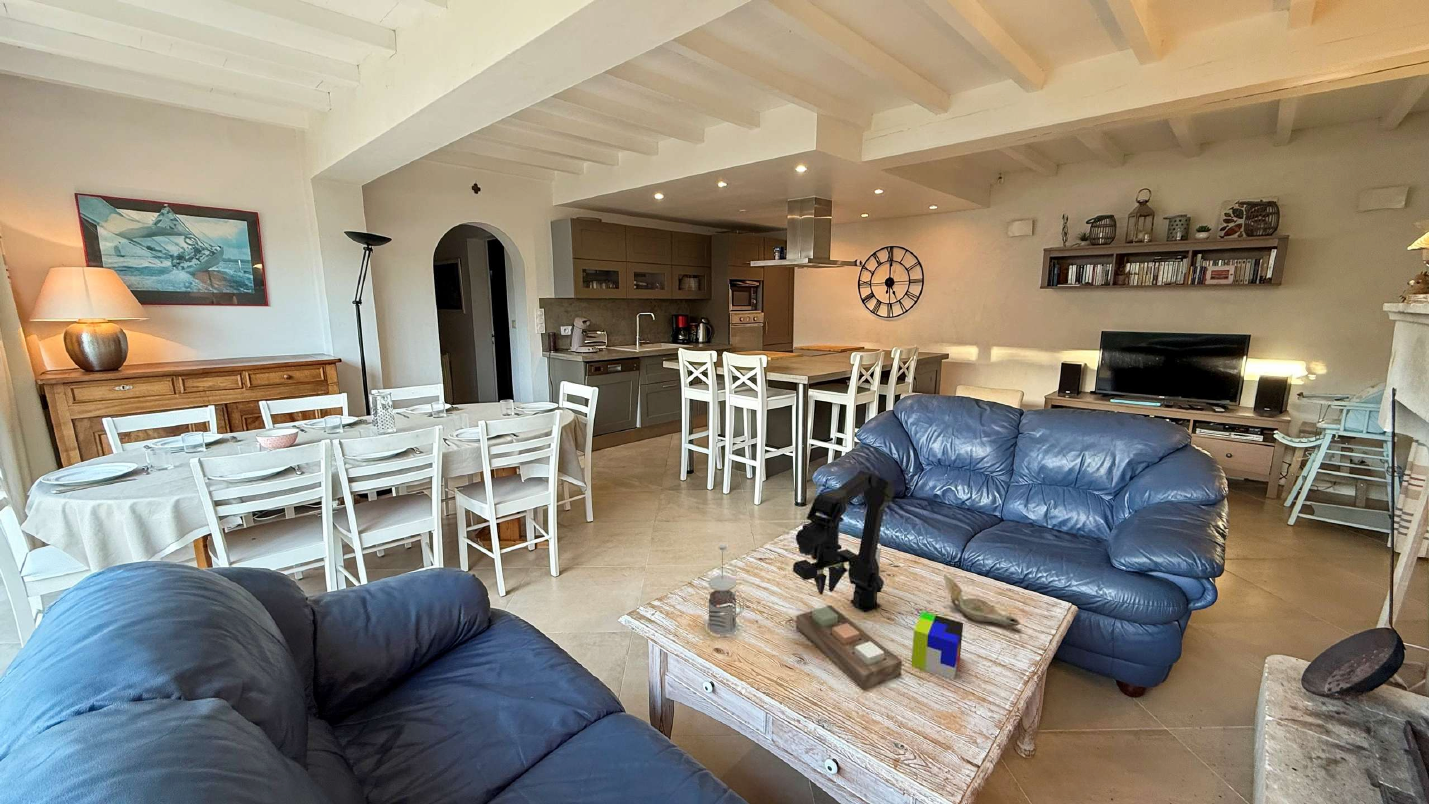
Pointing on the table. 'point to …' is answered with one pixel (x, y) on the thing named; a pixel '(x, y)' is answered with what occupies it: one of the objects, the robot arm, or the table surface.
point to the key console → (849, 651)
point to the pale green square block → (824, 617)
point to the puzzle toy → (937, 644)
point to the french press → (721, 596)
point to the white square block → (869, 653)
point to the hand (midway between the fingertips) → (825, 592)
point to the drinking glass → (878, 553)
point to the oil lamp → (977, 607)
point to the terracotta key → (845, 634)
